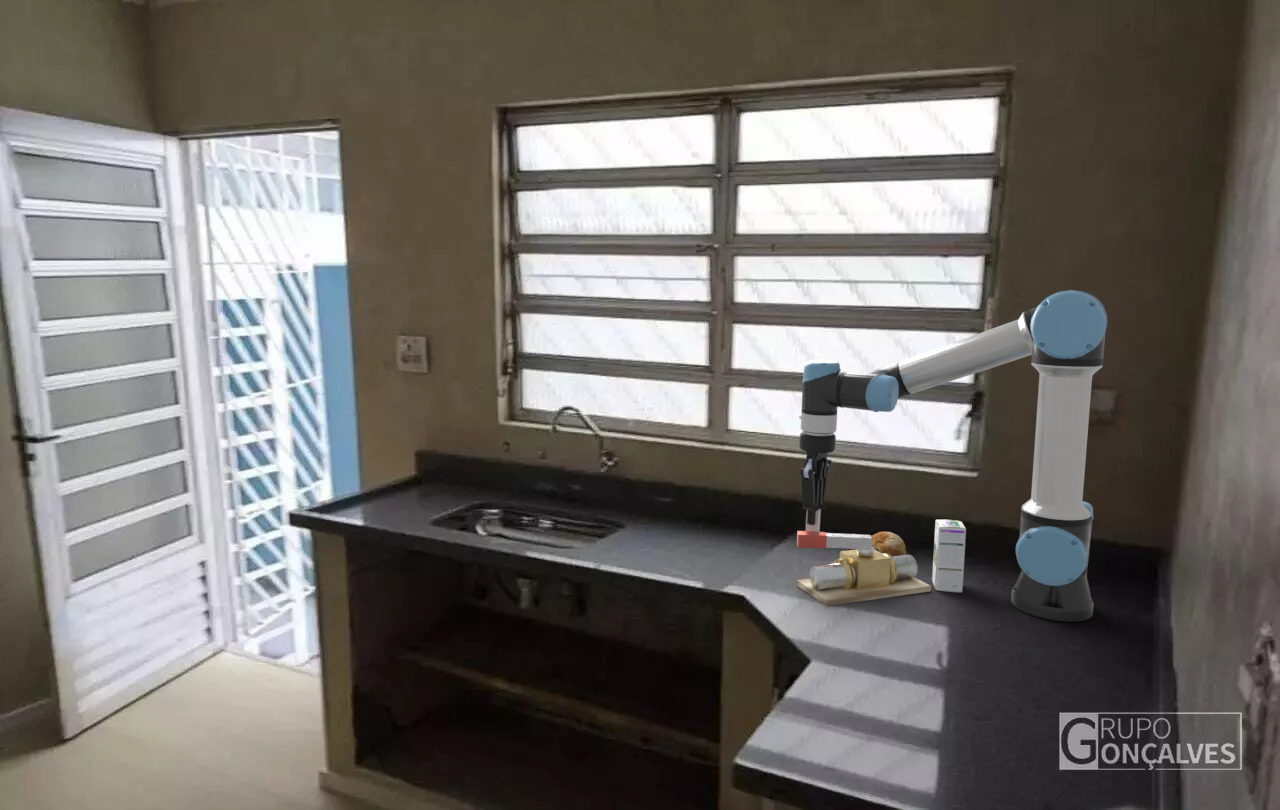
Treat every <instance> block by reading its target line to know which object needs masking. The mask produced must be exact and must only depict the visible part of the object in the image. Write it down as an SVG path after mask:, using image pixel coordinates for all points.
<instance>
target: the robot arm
mask: <svg viewBox="0 0 1280 810" xmlns="http://www.w3.org/2000/svg"><path fill="white" fill-rule="evenodd" d="M1107 326H1108V313H1107V310H1106V307H1105V306H1104V304H1103V302H1102V301H1101V300H1100V299H1099V298H1097V297H1096V296H1095V295H1093V294H1092V293H1089V292H1088V291H1087V292H1086V291H1083V290H1073V289H1070V290H1061V291H1060V290H1059V291H1057V292H1055V293H1052V294H1051V295H1049V296H1047V297H1045V298H1044V299H1043V300H1042V301H1041V302H1040V303H1039V304H1038V305H1037V307H1034V308H1031V309H1028V310H1026V311H1023V312H1022V313H1021V315H1020V317H1019V318H1018V319H1015V320H1012V321H1010V322H1007V323H1004V324H1002V325H999V326H996V327H993V328H990V329H987V330H984V331H982V332H980V333H976V334H973V335H971V336H968V337H966V338H963V339H959V340H956V341H953V342H952V343H948V344H946V345H942V346H940V347H937V348H935V349H931V350H928V351H926V352H923V353H920V354H917V355H915V356H911V357H909V358H906V359H904V360H901V361H898V362H895V363H891V364H889V365H886V366H882V367H880V368H877V369H875V370H871V371H869V372H866V373H864V372H863V373H861V372H847V371H842V370H841V365H840V363H839V362H838V361H837V360H829V359H828V360H826V359H810V360H809V361H807V362H806V363H805V364H804V367H803V377H802V382H801V383H802V389H801V395H802V396H801V412H800V413H801V414H800V415H799V418H798V419H799V420H800V430H801V432H800V434H799V446H798V447H799V449H800V450H801V451H803V452H806V457H805V458H804V468H803V467H801V468H800V470H799V473H800V477H801V495H802V496H801V497H802V498H801V499H802V507H801V508H802V509H803V510H806V515H805V516H806V517H805V531H812V532H821V531H820V529H821V528H820V527H821V512H822V509H823V510H824V509H825V508H826V505H825V502H826V495H827V489H828V488H827V487H828V481H829V473H830V467H831V465H832V464H831V463H832V459H828V454H830V453H833V452H834V451H836V450H835V449H836V440H837V439H836V437H837V436H836V434H835V433H837V426H838V424H837V422H838V408H845V409H854V410H862V411H863V410H864V411H870V412H874V413H879V412H881V413H882V412H883V413H891V412H892V411H893V410H895V409H896V406H897V403H898V401H899V399H901V398H903V397H908V396H911V395H912V394H913V395H914V394H916V393H919V392H922V391H925V390H928V389H931V388H934V387H937V386H940V385H943V384H946V383H949V382H953V381H956V380H958V379H961V378H964V377H968V376H971V375H974V374H977V373H981V372H983V371H986V370H987V371H988V370H989V369H993V368H996V367H998V366H1002V365H1004V364H1005V365H1006V364H1008V363H1011V362H1013V361H1016V360H1020V359H1023V358H1026V357H1029V356H1031V361H1030V362H1031V366H1032V367H1033V368H1034V369H1035V370H1036V371H1037V372H1038V373H1039V379H1038V394H1037V395H1038V396H1037V408H1036V420H1035V421H1036V423H1035V424H1036V425H1035V437H1034V453H1033V464H1032V465H1033V466H1032V468H1033V469H1032V479H1031V492H1030V493H1031V496H1030V499H1029V500H1026V502H1025V503H1023V504H1022V505H1021V511H1020V525H1019V537H1018V540H1017V542H1016V544H1015V555H1016V560H1017V564H1018V566H1019V568H1020V569H1021V570H1020V573H1019V574H1018V577H1017V579H1016V581H1015V584H1014V586H1013V587H1012V589H1011V597H1010V601H1011V604H1012V605H1013V606H1014V607H1015V608H1016V609H1018V610H1019V611H1022V612H1024V613H1026V614H1029V615H1031V616H1034V617H1038V618H1041V619H1045V620H1050V621H1056V622H1057V621H1058V622H1067V623H1068V622H1069V623H1070V622H1072V623H1073V622H1082V621H1086V620H1089V619H1091V618H1092V617H1093V614H1094V605H1095V604H1094V601H1093V599H1092V597H1091V596H1092V595H1091V591H1090V586H1089V581H1088V578H1087V577H1088V576H1087V575H1088V565H1089V564H1088V563H1089V557H1090V546H1091V535H1092V527H1093V520H1094V518H1095V517H1094V508H1093V506H1092V504H1091V503H1089V502H1087V501H1083V500H1084V499H1083V497H1084V484H1085V472H1086V471H1085V470H1086V462H1087V461H1086V460H1087V458H1086V457H1087V447H1088V445H1087V444H1088V432H1089V421H1090V408H1091V407H1090V406H1091V398H1092V397H1091V395H1092V385H1093V384H1092V381H1093V376H1094V374H1096V373H1097V372H1098V371H1100V370H1101V369H1102V368H1103V365H1104V352H1105V342H1106V341H1105V340H1106V339H1105V338H1106V331H1107Z"/></svg>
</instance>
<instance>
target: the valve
mask: <svg viewBox="0 0 1280 810" xmlns="http://www.w3.org/2000/svg"><path fill="white" fill-rule="evenodd" d="M917 573H918V563H917V560H916V559H915V557H914V556H913V555H911V554H906V555H902V556H894V557H892V556H891V555H889V554H887V553H883V554H882V553H880V552H878V551H876V550H874V555H873V556H870V557H865V556H860V555H858V554H857V549H850V550H841V551H839V558H835V559H834V560H833V561H832V563H829V564H820V565H814V566H812V567H811V568H810V570H809V578H810V581H811V584H812V586H813V588H814V589H816V590H823V589H830V588H838V587H841V588H843V589H845V590H850V589H851V588H853V589H855V590H856V591H861V590H868V589H875V588H883V587H889V584H894V583H895V581H896V580H898V579H905V578H913V577H915V578H916V576H917Z"/></svg>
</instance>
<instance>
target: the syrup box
mask: <svg viewBox="0 0 1280 810" xmlns="http://www.w3.org/2000/svg"><path fill="white" fill-rule="evenodd" d="M966 539H967V528H966V526H965V525H964V524H963V522H962V520H957V519H956V520H955V519H935V525H934V542H933V558H932V559H933V560H932V574H931V582H932V585H933V587H934V589H935V590H936V591H938V592H939V591H941V592H946V593H947V592H949V593H962V592H963V584H964V571H965V555H966Z"/></svg>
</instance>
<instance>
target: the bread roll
mask: <svg viewBox="0 0 1280 810" xmlns="http://www.w3.org/2000/svg"><path fill="white" fill-rule="evenodd" d="M870 536H871V538H872V547H874V550H876V551H878V552H880V553H882V554H883V553H887V554H889V555H891V556H892V557H894V556H902V555H907V550H906V547H907V546H906V544H905V542H904V540H903V539H902V538H901V537H900V536H899V535H898V534H895V533H893V532H891V531H879V532H877V533H875V534H873V535H870Z"/></svg>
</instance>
